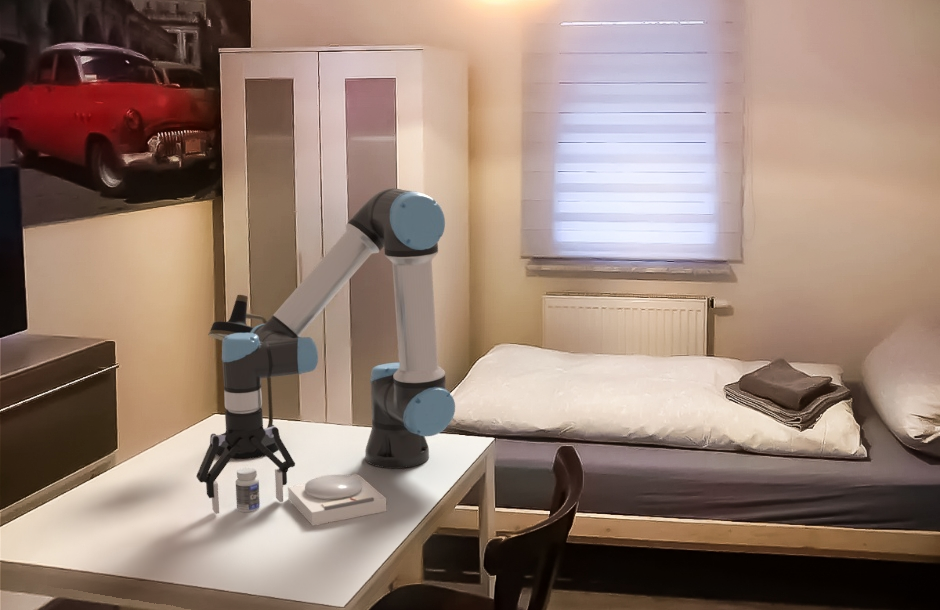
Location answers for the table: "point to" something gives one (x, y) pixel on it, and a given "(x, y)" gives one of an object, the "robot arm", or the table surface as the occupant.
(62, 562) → the table surface
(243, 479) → the pill bottle
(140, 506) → the table surface
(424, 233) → the robot arm
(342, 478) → the scale
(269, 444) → the lamp
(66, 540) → the table surface
